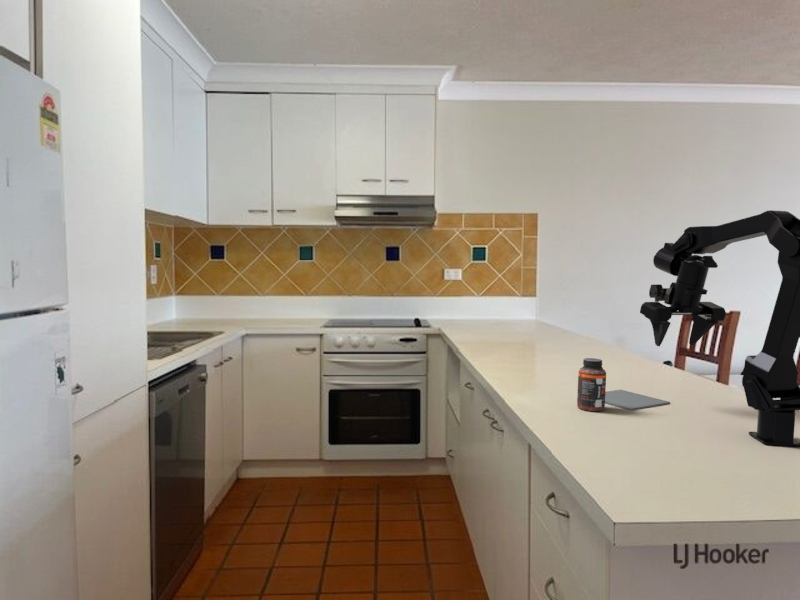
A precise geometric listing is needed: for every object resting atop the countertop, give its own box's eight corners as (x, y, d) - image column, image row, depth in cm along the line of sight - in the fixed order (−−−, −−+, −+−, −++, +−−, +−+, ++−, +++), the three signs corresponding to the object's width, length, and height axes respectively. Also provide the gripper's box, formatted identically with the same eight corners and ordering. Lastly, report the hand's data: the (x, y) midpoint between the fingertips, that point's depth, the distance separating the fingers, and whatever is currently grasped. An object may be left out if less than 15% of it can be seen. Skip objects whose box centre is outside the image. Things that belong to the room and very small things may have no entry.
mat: (670, 403, 130) (670, 401, 130) (630, 410, 123) (630, 408, 123) (620, 391, 142) (620, 389, 142) (582, 396, 135) (582, 395, 135)
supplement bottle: (606, 413, 120) (609, 362, 120) (578, 411, 122) (580, 360, 121) (602, 406, 126) (604, 357, 125) (575, 404, 127) (577, 356, 127)
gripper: (700, 272, 133) (684, 331, 138) (632, 271, 129) (619, 332, 134) (735, 286, 123) (717, 349, 128) (663, 286, 119) (647, 351, 124)
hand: (674, 345), depth 129 cm, fingers open, 9 cm apart
